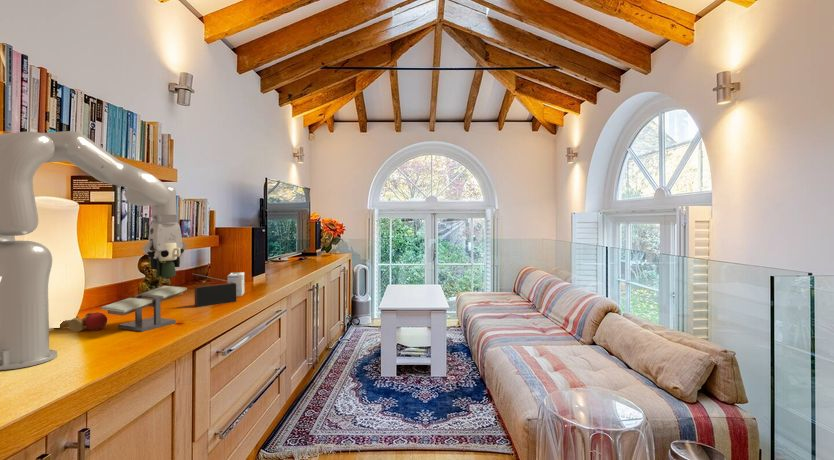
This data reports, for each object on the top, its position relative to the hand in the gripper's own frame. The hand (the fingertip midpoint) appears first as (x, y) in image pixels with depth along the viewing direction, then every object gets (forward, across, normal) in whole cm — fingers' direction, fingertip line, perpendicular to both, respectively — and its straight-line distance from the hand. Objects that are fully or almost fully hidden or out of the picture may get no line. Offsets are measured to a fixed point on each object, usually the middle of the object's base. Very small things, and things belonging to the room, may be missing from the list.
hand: (165, 267), depth 144 cm
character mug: (+4, 0, 0) cm, 4 cm away
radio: (+20, +28, +9) cm, 36 cm away
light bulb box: (+21, +49, +18) cm, 56 cm away
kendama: (+20, -19, +17) cm, 32 cm away
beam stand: (+20, -7, 0) cm, 21 cm away
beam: (+13, -7, 0) cm, 14 cm away
